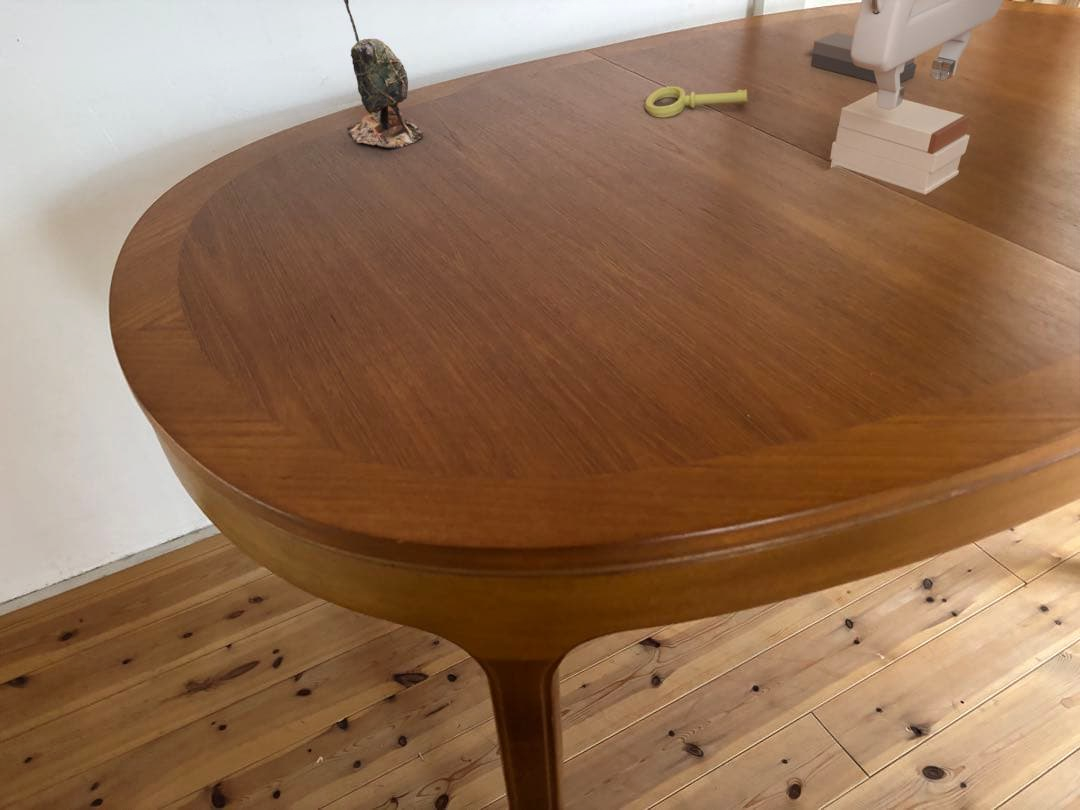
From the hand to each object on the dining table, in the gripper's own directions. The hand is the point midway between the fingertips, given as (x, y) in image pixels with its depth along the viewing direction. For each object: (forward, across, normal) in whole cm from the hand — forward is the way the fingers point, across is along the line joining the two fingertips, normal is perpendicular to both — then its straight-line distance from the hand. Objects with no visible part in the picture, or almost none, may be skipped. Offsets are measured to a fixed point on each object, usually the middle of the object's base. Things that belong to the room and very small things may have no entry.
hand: (915, 91), depth 84 cm
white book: (+4, -1, 0) cm, 4 cm away
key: (+9, +1, +28) cm, 30 cm away
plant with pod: (+8, -30, +48) cm, 57 cm away
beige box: (+9, -1, 0) cm, 9 cm away
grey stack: (+9, +25, +20) cm, 34 cm away
